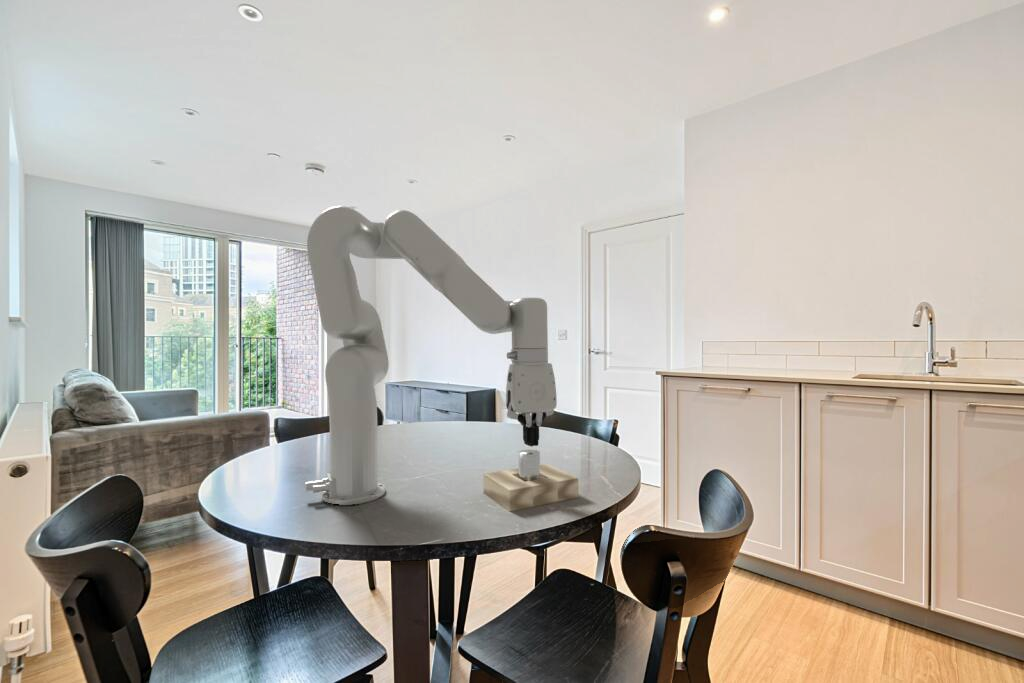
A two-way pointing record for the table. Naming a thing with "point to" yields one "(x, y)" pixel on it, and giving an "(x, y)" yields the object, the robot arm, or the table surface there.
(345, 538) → the table surface
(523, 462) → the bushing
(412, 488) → the table surface
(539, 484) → the jig
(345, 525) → the table surface
